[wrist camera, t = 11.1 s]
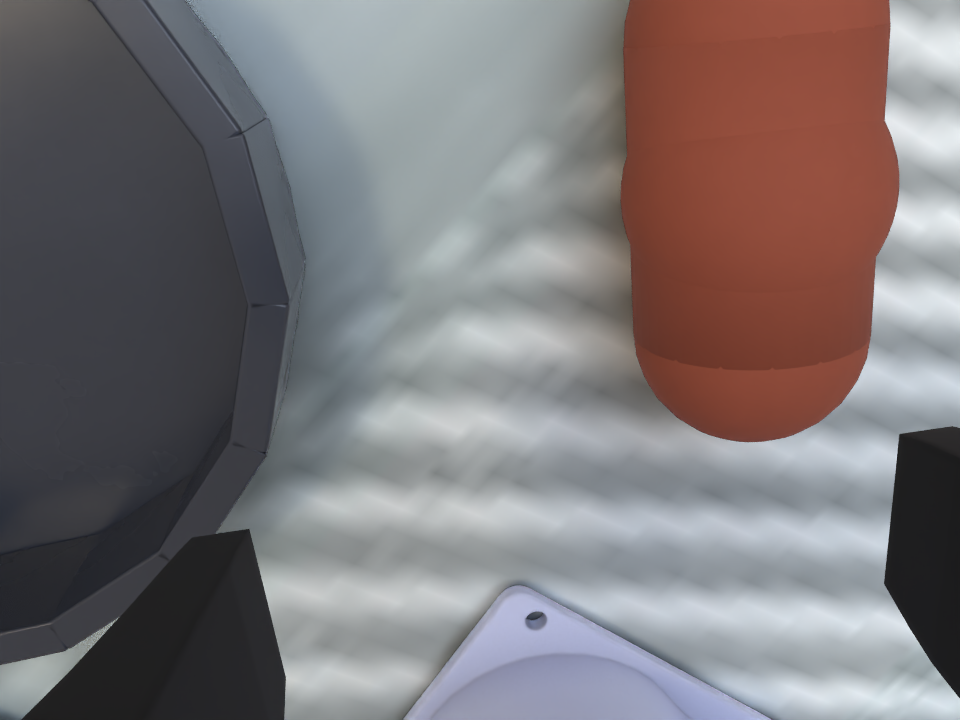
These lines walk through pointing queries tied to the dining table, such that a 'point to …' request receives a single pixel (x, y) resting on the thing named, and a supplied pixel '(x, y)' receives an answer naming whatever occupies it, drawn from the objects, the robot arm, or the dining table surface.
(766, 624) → the dining table surface
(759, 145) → the sweet potato
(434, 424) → the dining table surface
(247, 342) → the pan
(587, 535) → the dining table surface
